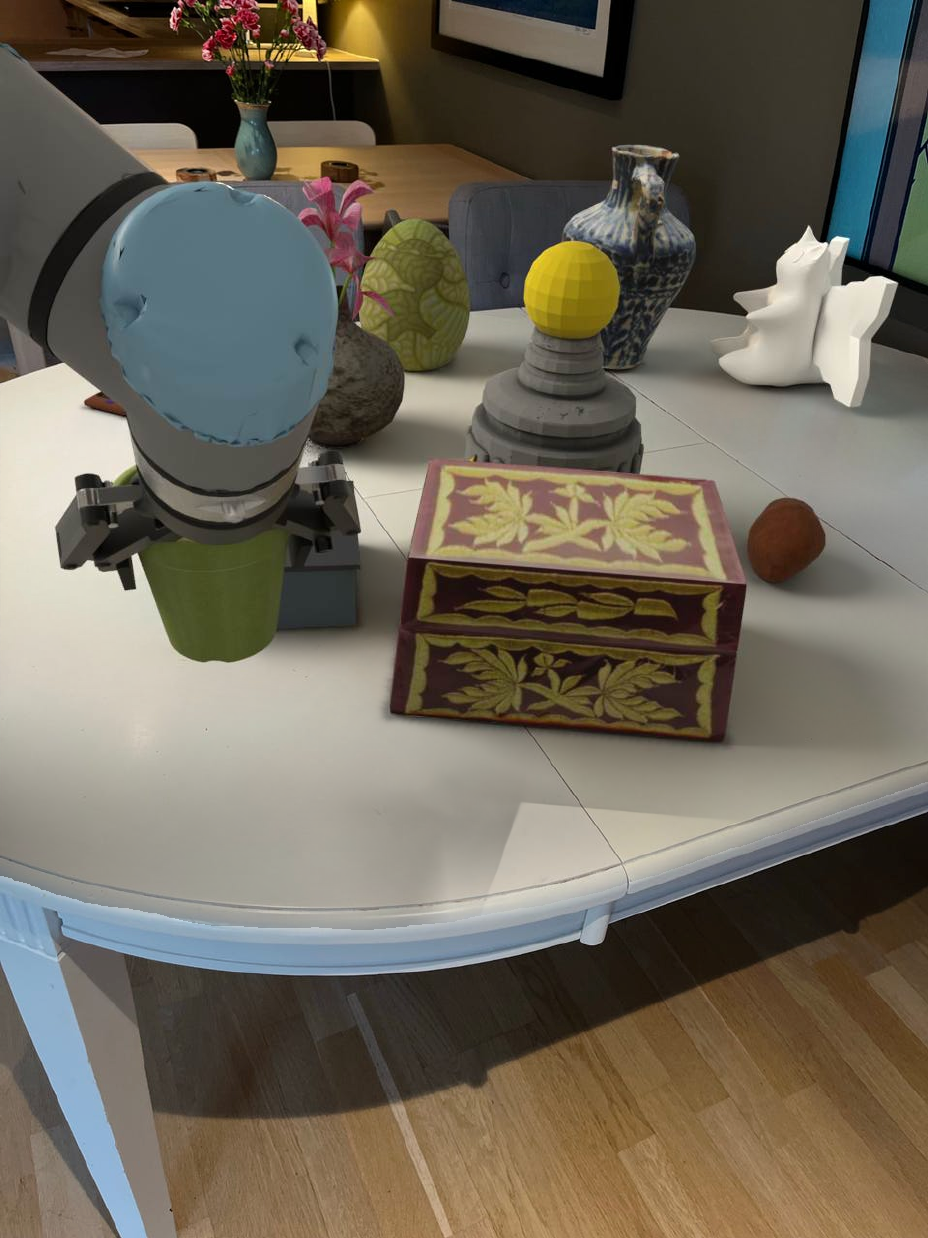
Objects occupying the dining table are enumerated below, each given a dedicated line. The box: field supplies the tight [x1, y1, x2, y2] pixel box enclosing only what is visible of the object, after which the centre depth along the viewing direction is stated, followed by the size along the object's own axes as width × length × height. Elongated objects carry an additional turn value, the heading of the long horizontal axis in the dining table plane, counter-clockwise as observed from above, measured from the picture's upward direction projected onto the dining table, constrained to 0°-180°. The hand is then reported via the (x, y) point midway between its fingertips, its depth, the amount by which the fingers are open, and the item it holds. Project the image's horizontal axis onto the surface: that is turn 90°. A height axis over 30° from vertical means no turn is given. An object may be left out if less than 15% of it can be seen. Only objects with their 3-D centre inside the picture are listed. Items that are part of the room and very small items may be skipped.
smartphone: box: [83, 391, 126, 416], centre depth 129 cm, size 7×1×15 cm
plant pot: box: [112, 464, 305, 664], centre depth 62 cm, size 12×12×11 cm
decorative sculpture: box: [358, 218, 471, 372], centre depth 139 cm, size 16×16×20 cm
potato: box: [746, 497, 827, 583], centre depth 98 cm, size 8×12×8 cm, turn 165°
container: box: [277, 480, 362, 629], centre depth 91 cm, size 16×16×7 cm
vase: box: [297, 176, 406, 449], centre depth 113 cm, size 17×17×30 cm
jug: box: [561, 144, 697, 370], centre depth 140 cm, size 21×19×30 cm
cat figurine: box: [709, 225, 899, 408], centre depth 139 cm, size 25×21×21 cm
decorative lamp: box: [464, 241, 645, 474], centre depth 97 cm, size 19×19×30 cm
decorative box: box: [389, 458, 748, 742], centre depth 81 cm, size 28×19×15 cm
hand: (212, 560), depth 65 cm, fingers closed on plant pot, 10 cm apart
